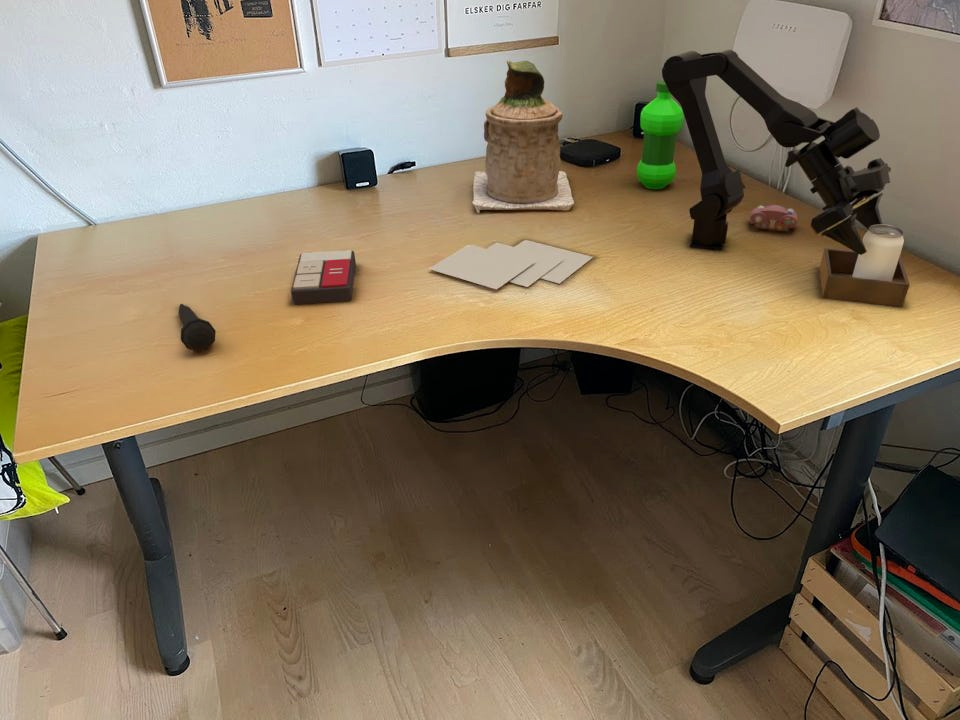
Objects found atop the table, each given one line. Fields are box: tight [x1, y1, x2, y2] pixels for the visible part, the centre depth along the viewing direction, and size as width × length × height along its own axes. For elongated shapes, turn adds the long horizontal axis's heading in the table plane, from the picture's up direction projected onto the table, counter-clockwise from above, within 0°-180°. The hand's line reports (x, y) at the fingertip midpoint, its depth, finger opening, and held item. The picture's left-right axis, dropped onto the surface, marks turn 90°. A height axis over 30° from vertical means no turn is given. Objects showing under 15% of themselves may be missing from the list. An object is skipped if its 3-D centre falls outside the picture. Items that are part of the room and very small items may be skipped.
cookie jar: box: [471, 59, 575, 214], centre depth 172 cm, size 25×25×32 cm
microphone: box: [178, 303, 217, 352], centre depth 128 cm, size 6×6×20 cm
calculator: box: [290, 249, 357, 305], centre depth 141 cm, size 11×4×15 cm
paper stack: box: [428, 239, 594, 290], centre depth 147 cm, size 23×25×1 cm
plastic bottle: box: [636, 80, 685, 190], centre depth 176 cm, size 10×10×25 cm
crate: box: [818, 247, 910, 308], centre depth 134 cm, size 13×12×4 cm
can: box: [851, 223, 905, 281], centre depth 131 cm, size 6×6×12 cm
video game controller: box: [749, 204, 799, 232], centre depth 157 cm, size 10×5×7 cm, turn 68°
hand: (873, 245), depth 130 cm, fingers open, 9 cm apart
